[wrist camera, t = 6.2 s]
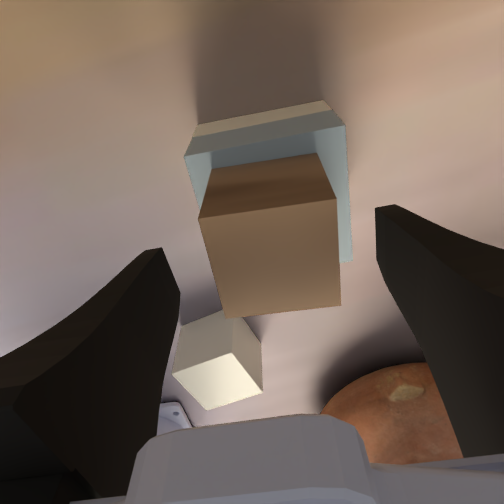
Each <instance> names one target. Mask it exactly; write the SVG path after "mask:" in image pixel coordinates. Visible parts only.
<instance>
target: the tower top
mask: <svg viewBox="0 0 504 504" xmlns="http://www.w3.org/2000/svg"><path fill="white" fill-rule="evenodd" d="M311 153H317V154H318V156H319V159H320V161H321V163H322V166H323V168H324V170H325V173H326V175H327V177H328V179H329V182H330V184H331V186H332V189H333V191H334V193H335V196H336V198H337V214H338V239H339V263H343V262H349V261H353V253H352V235H351V217H350V200H349V182H348V165H347V147H346V129H345V124H344V123H343V122H342V120H341V119H340V118H339V117H338V116H337V114H336V113H335V112H334V111H333V110H327V111H322V112H317V113H312V114H308V115H303V116H298V117H293V118H288V119H283V120H278V121H273V122H268V123H263V124H258V125H253V126H248V127H243V128H238V129H233V130H228V131H223V132H218V133H213V134H208V135H203V136H198V137H193V138H192V140H191V142H190V144H189V147H188V149H187V151H186V153H185V155H184V159H185V163H186V166H187V169H188V172H189V176H190V179H191V182H192V186H193V189H194V192H195V195H196V199H197V202H198V205H199V209H201V206H202V202H203V198H204V195H205V191H206V187H207V184H208V180H209V176H210V173H211V169H215V168H221V167H228V166H234V165H240V164H247V163H253V162H260V161H266V160H273V159H279V158H285V157H292V156H298V155H305V154H311Z"/></svg>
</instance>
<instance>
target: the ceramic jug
mask: <svg viewBox="0 0 504 504" xmlns="http://www.w3.org/2000/svg"><path fill="white" fill-rule="evenodd" d="M320 414H328V415H330V416H332V417H335V418H337V419H340V420H342V421H344V422H347V423H349V424H351V425H353V426H355V428H356V430H357V431H358V433H359V434H360V436H361V438H362V439H363V441H364V444H365V448H366V452H367V456H368V459H369V463H383V464H397V465H405V464H414V463H423V462H432V461H441V460H450V459H459V458H463V455H462V452H461V449H460V446H459V444H458V441H457V438H456V435H455V433H454V430H453V427H452V425H451V422H450V419H449V417H448V414H447V411H446V409H445V406H444V403H443V401H442V398H441V396H440V393H439V391H438V388H437V386H436V383H435V381H434V378H433V376H432V373H431V371H430V368H429V366H428V364H427V362H421V363H408V364H401V365H396V366H391V367H386V368H383V369H380V370H377V371H374V372H372V373H369V374H367V375H365V376H362V377H360V378H358V379H356V380H355V381H353V382H351V383H350V384H348V385H347V386H345V387H344V388H343V389H341V390H340V391H339V392H338V393H337V394H335V395H334V396H333V397H332V398H331V400H330V401H329V402H328V403H327V404H326V406H325V407H324V408H323V410H322V412H321V413H320Z"/></svg>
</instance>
